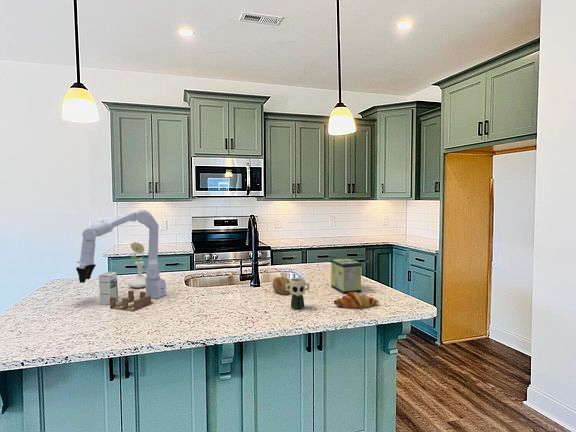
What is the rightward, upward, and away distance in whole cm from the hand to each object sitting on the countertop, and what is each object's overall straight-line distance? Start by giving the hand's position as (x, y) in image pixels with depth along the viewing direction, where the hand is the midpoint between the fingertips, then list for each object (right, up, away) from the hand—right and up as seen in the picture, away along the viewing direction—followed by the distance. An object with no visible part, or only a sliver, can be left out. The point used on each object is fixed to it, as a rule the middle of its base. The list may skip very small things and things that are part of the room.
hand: (84, 280), depth 180 cm
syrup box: (+12, -11, -1) cm, 16 cm away
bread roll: (+94, -9, +17) cm, 96 cm away
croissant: (+129, -11, -7) cm, 130 cm away
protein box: (+129, -9, +21) cm, 131 cm away
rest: (+25, -11, -5) cm, 28 cm away
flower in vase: (+14, -9, +30) cm, 35 cm away
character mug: (+102, -11, -10) cm, 103 cm away
